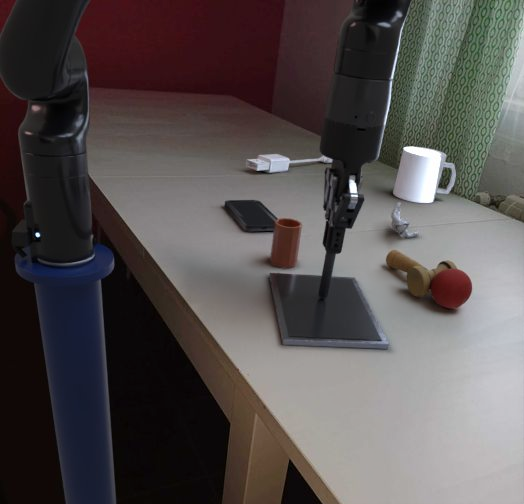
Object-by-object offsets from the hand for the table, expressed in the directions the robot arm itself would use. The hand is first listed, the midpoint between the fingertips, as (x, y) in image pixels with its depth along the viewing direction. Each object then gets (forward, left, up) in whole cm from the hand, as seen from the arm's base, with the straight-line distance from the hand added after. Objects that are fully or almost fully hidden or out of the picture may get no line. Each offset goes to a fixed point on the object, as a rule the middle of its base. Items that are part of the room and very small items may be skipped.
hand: (331, 249), depth 75 cm
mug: (+35, +59, -9) cm, 69 cm away
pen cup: (-4, +14, -9) cm, 17 cm away
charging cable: (+6, +78, -9) cm, 79 cm away
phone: (-8, +35, -9) cm, 37 cm away
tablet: (0, -2, -9) cm, 9 cm away
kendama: (+18, +7, -9) cm, 21 cm away
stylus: (0, 0, -8) cm, 8 cm away
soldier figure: (+22, +33, -9) cm, 41 cm away
